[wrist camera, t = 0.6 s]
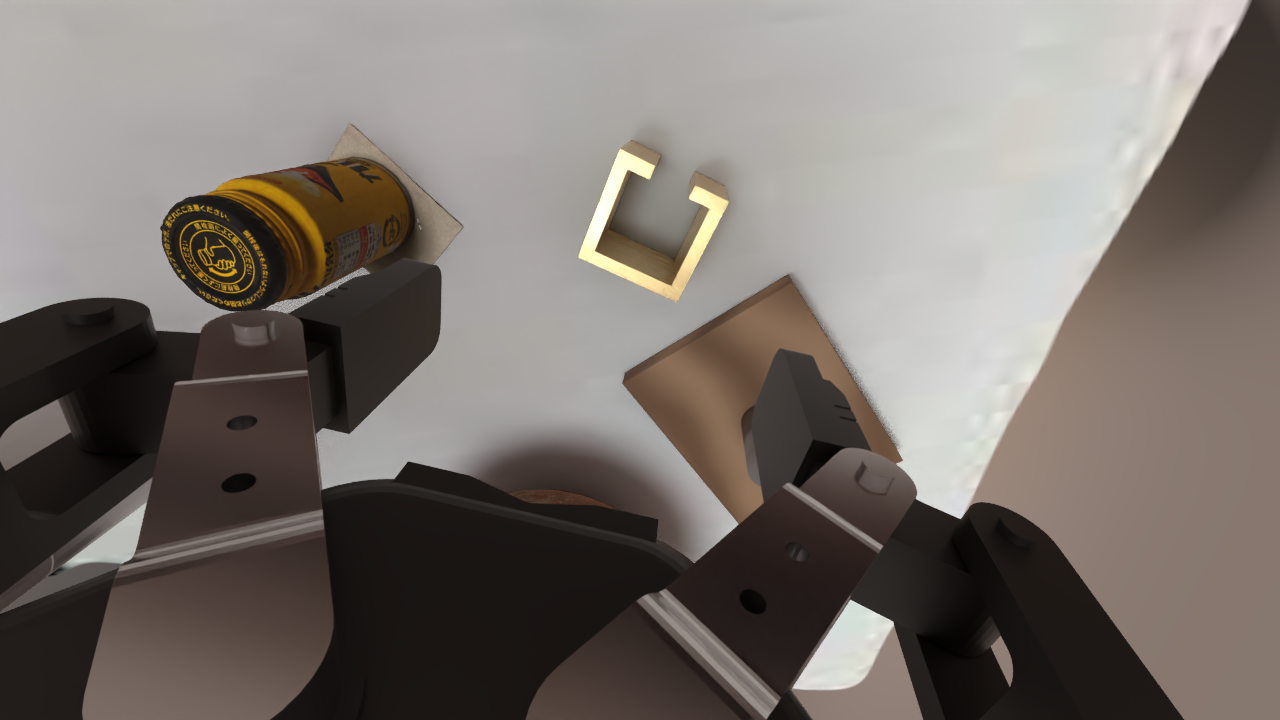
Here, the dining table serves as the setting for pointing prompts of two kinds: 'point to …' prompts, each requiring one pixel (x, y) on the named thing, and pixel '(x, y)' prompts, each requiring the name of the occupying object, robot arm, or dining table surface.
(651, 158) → the collar
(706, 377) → the keyed stand
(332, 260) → the condiment
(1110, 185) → the dining table surface
